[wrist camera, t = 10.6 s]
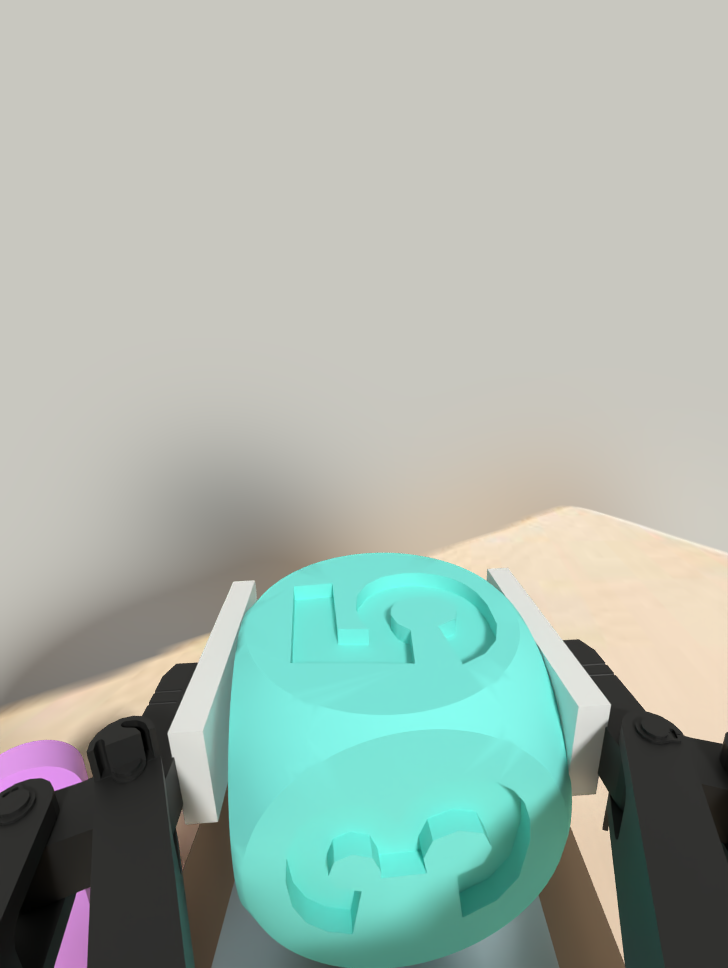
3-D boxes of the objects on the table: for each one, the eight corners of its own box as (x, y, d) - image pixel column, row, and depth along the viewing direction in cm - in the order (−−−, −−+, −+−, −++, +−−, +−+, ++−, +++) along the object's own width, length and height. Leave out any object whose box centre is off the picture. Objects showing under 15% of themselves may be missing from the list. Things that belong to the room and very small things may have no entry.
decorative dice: (272, 734, 19) (254, 559, 16) (460, 711, 20) (468, 542, 17) (251, 1000, 11) (209, 746, 9) (558, 943, 12) (596, 699, 10)
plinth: (66, 1382, 10) (17, 1301, 9) (256, 749, 25) (248, 686, 24) (727, 1423, 9) (780, 1344, 8) (511, 752, 25) (517, 687, 23)
